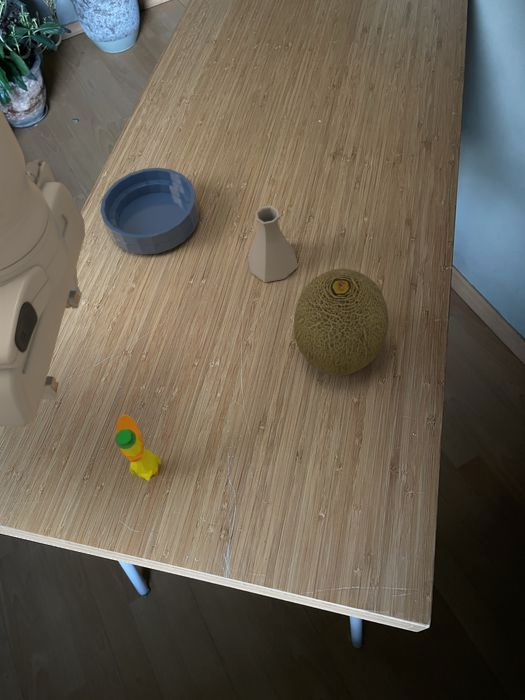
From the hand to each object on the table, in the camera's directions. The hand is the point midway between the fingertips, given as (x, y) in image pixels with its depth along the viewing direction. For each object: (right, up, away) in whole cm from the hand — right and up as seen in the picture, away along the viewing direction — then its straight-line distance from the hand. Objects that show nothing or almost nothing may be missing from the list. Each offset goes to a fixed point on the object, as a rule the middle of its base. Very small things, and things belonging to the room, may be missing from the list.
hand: (60, 345), depth 54 cm
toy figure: (+5, -15, +17) cm, 23 cm away
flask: (+20, +12, +32) cm, 39 cm away
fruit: (+28, -1, +23) cm, 37 cm away
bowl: (+2, +19, +38) cm, 43 cm away
